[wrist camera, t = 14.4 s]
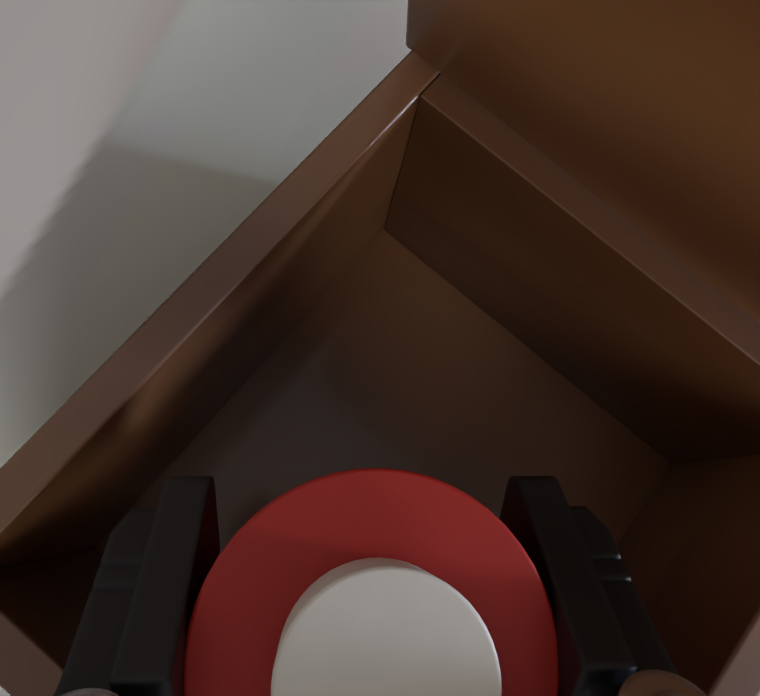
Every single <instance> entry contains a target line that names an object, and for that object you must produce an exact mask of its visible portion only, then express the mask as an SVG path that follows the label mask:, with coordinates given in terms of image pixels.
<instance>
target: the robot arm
mask: <svg viewBox="0 0 760 696" xmlns="http://www.w3.org/2000/svg"><path fill="white" fill-rule="evenodd" d="M499 520H501V521H502V522H503V523H504V524H505V525H506V526H507V528H508V529H509V530H510V531H511V532H512V534H513V535H514V536H515V537H516V539H517V540H518V541H519V542H520V544H521V545H522V546H523V548H524V550H525V551H526V553H527V554H528V556H529V558H530V559H531V561H532V562H533V564H534V566H535V568H536V570H537V572H538V574H539V576H540V579H541V581H542V583H543V585H544V587H545V590H546V593H547V596H548V599H549V602H550V605H551V608H552V611H553V616H554V621H555V626H556V636H557V650H558V667H559V692H558V696H707V695H706V694H705V693H704V692H703V691H702V690H701V689H700V688H698V687H697V686H696V685H695V684H693V683H691V682H690V681H688V680H687V679H685V678H683V677H681V676H679V674H678V673H677V671H676V669H675V668H674V666H673V664H672V662H671V660H670V658H669V656H668V654H667V652H666V649H665V647H664V645H663V643H662V641H661V639H660V637H659V635H658V633H657V630H656V628H655V626H654V624H653V622H652V620H651V618H650V616H649V614H648V611H647V609H646V607H645V605H644V603H643V601H642V599H641V597H640V595H639V592H638V590H637V588H636V586H635V584H634V583H632V582H631V576H630V573H629V571H628V569H627V567H626V565H625V563H624V561H623V560H621V554H620V552H619V550H618V548H617V546H616V544H615V542H614V540H613V538H612V535H611V533H610V531H609V529H608V528H607V527H606V526H605V525H604V524H603V523H602V522H601V521H600V520H599V519H598V518H597V517H596V516H595V515H594V514H593V513H592V512H591V511H590V510H589V509H588V508H587V507H586V506H569V505H568V502H567V500H566V498H565V495H564V493H563V491H562V488H561V486H560V484H559V482H558V480H557V478H556V477H554V476H511V477H510V478H509V480H508V483H507V487H506V491H505V496H504V500H503V505H502V509H501V514H500V518H499ZM219 554H220V538H219V526H218V515H217V503H216V492H215V482H214V478H213V476H168V477H167V478H166V480H165V482H164V486H163V489H162V493H161V496H160V500H159V504H158V507H157V509H132V510H131V511H130V512H129V513H128V514H127V515H126V516H125V517H124V519H123V520H122V521H121V522H120V523H119V524H118V525H117V527H116V528H115V529H114V530H113V531H112V532H111V533H110V536H109V539H108V542H107V545H106V548H105V551H104V553H103V556H102V559H101V566H100V568H98V571H97V574H96V577H95V580H94V583H93V586H92V587H93V588H92V592H90V594H89V597H88V600H87V603H86V606H85V609H84V612H83V615H82V618H81V621H80V624H79V626H78V629H77V632H76V635H75V638H74V641H73V644H72V647H71V650H70V653H69V656H68V659H67V662H66V664H65V667H64V670H63V673H62V676H61V679H60V682H59V684H58V687H57V689H56V691H55V693H54V695H53V696H183V678H184V658H185V645H186V635H187V629H188V626H189V622H190V618H191V615H192V611H193V608H194V604H195V602H196V599H197V597H198V595H199V592H200V590H201V588H202V585H203V583H204V580H205V578H206V577H207V575H208V573H209V571H210V570H211V568H212V566H213V564H214V563H215V561H216V559H217V557H218V556H219Z"/></svg>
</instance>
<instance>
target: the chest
mask: <svg viewBox="0 0 760 696" xmlns="http://www.w3.org/2000/svg"><path fill="white" fill-rule="evenodd" d="M358 468H390V469H399V470H407V471H411V472H415V473H419V474H423V475H427V476H430V477H433V478H435V479H438V480H440V481H443V482H445V483H448V484H450V485H452V486H454V487H456V488H457V489H459V490H461V491H463V492H465V493H466V494H468V495H470V496H471V497H473V498H474V499H475V500H477V501H478V502H480V503H481V504H482V505H484V506H485V507H486V508H488V509H489V510H490V511H491V512H492V513H493V514H494V515H495V516H496V517H497V518H498V519H499V518H500V514H501V509H502V505H503V500H504V496H505V491H506V487H507V483H508V480H509V478H510V477H511V476H554V477H556V478H557V480H558V482H559V484H560V486H561V488H562V491H563V493H564V495H565V498H566V500H567V502H568V505H569V506H586V507H587V508H588V509H589V510H590V511H591V512H592V513H593V514H594V515H595V516H596V517H597V518H598V519H599V520H600V521H601V522H602V523H603V524H604V525H605V526H606V527H607V528H608V529H609V531H610V533H611V535H612V538H613V540H614V542H615V544H616V546H617V548H618V550H619V552H620V554H621V560H623V561H624V563H625V565H626V567H627V569H628V571H629V573H630V576H631V582H632V583H634V584H635V586H636V588H637V590H638V592H639V595H640V597H641V599H642V601H643V603H644V605H645V607H646V609H647V611H648V614H649V616H650V618H651V620H652V622H653V624H654V626H655V628H656V630H657V633H658V635H659V637H660V639H661V641H662V643H663V645H664V647H665V649H666V652H667V654H668V656H669V658H670V660H671V662H672V664H673V666H674V668H675V669H676V671H677V673H678V674H679V676H681V677H683V678H685V679H687V680H688V681H690V682H691V683H693V684H695V685H696V686H697V687H698V688H700V689H701V690H702V691H703V692H704V693H705V694H706V695H707V696H759V695H760V325H759V324H758V323H757V322H756V321H754V320H753V319H752V318H751V317H749V316H748V315H747V314H745V313H744V312H743V311H742V310H740V309H739V308H738V307H737V306H735V305H734V304H733V303H732V302H730V301H729V300H728V299H726V298H725V297H724V296H723V295H721V294H720V293H719V292H718V291H716V290H715V289H714V288H712V287H711V286H710V285H709V284H707V283H706V282H705V281H704V280H702V279H701V278H700V277H699V276H697V275H696V274H695V273H693V272H692V271H691V270H690V269H688V268H687V267H686V266H685V265H683V264H682V263H681V262H680V261H678V260H677V259H676V258H674V257H673V256H672V255H671V254H669V253H668V252H667V251H666V250H664V249H663V248H662V247H661V246H659V245H658V244H657V243H655V242H654V241H653V240H652V239H650V238H649V237H648V236H647V235H645V234H644V233H643V232H642V231H640V230H639V229H638V228H636V227H635V226H634V225H633V224H631V223H630V222H629V221H628V220H626V219H625V218H624V217H622V216H621V215H620V214H619V213H617V212H616V211H615V210H614V209H612V208H611V207H610V206H609V205H607V204H606V203H605V202H603V201H602V200H601V199H600V198H598V197H597V196H596V195H595V194H593V193H592V192H591V191H590V190H588V189H587V188H586V187H584V186H583V185H582V184H581V183H579V182H578V181H577V180H576V179H574V178H573V177H572V176H571V175H569V174H568V173H567V172H565V171H564V170H563V169H562V168H560V167H559V166H558V165H557V164H555V163H554V162H553V161H552V160H550V159H549V158H548V157H546V156H545V155H544V154H543V153H541V152H540V151H539V150H538V149H536V148H535V147H534V146H532V145H531V144H530V143H529V142H527V141H526V140H525V139H524V138H522V137H521V136H520V135H519V134H517V133H516V132H515V131H513V130H512V129H511V128H510V127H508V126H507V125H506V124H505V123H503V122H502V121H501V120H500V119H498V118H497V117H496V116H494V115H493V114H492V113H491V112H489V111H488V110H487V109H486V108H484V107H483V106H482V105H481V104H479V103H478V102H477V101H475V100H474V99H473V98H472V97H470V96H469V95H468V94H467V93H465V92H464V91H463V90H462V89H460V88H459V87H458V86H456V85H455V84H454V83H453V82H451V81H450V80H449V79H448V78H446V77H445V76H444V75H443V74H441V73H440V72H439V71H437V70H436V69H435V68H434V67H432V66H431V65H430V64H429V63H427V62H426V61H425V60H423V59H422V58H421V57H420V56H418V55H417V54H416V53H415V52H413V51H411V52H410V53H409V54H408V55H407V56H406V57H405V58H404V59H403V60H402V61H401V62H400V63H399V64H398V65H397V66H396V67H395V68H394V69H393V70H392V71H391V72H390V73H389V74H388V75H387V76H386V77H385V78H384V79H383V80H382V81H381V82H380V83H379V84H378V85H377V86H376V87H375V88H374V89H373V90H372V91H371V92H370V93H369V94H368V95H367V96H366V97H365V98H364V99H363V100H362V101H361V102H360V103H359V104H358V106H357V107H356V108H355V109H354V110H353V111H352V112H351V113H350V114H349V115H348V116H347V117H346V118H345V119H344V120H343V121H342V122H341V123H340V124H339V125H338V126H337V127H336V128H335V129H334V130H333V131H332V132H331V133H330V134H329V135H328V136H327V137H326V138H325V139H324V140H323V141H322V142H321V143H320V144H319V145H318V146H317V147H316V148H315V149H314V150H313V151H312V152H311V153H310V154H309V155H308V156H307V157H306V158H305V159H304V160H303V161H302V162H301V163H300V164H299V165H298V167H297V168H296V169H295V170H294V171H293V172H292V173H291V174H290V175H289V176H288V177H287V178H286V179H285V180H284V181H283V182H282V183H281V184H280V185H279V186H278V187H277V188H276V189H275V190H274V191H273V192H272V193H271V194H270V195H269V196H268V197H267V198H266V199H265V200H264V201H263V202H262V203H261V204H260V205H259V206H258V207H257V208H256V209H255V210H254V211H253V212H252V213H251V214H250V215H249V216H248V217H247V218H246V219H245V220H244V221H243V222H242V223H241V224H240V225H239V226H238V228H237V229H236V230H235V231H234V232H233V233H232V234H231V235H230V236H229V237H228V238H227V239H226V240H225V241H224V242H223V243H222V244H221V245H220V246H219V247H218V248H217V249H216V250H215V251H214V252H213V253H212V254H211V255H210V256H209V257H208V258H207V259H206V260H205V261H204V262H203V263H202V264H201V265H200V266H199V267H198V268H197V269H196V270H195V271H194V272H193V273H192V274H191V275H190V276H189V277H188V278H187V279H186V280H185V281H184V282H183V283H182V284H181V285H180V286H179V287H178V289H177V290H176V291H175V292H174V293H173V294H172V295H171V296H170V297H169V298H168V299H167V300H166V301H165V302H164V303H163V304H162V305H161V306H160V307H159V308H158V309H157V310H156V311H155V312H154V313H153V314H152V315H151V316H150V317H149V318H148V319H147V320H146V321H145V322H144V323H143V324H142V325H141V326H140V327H139V328H138V329H137V330H136V331H135V332H134V333H133V334H132V335H131V336H130V337H129V338H128V339H127V340H126V341H125V342H124V343H123V344H122V345H121V346H120V347H119V348H118V349H117V351H116V352H115V353H114V354H113V355H112V356H111V357H110V358H109V359H108V360H107V361H106V362H105V363H104V364H103V365H102V366H101V367H100V368H99V369H98V370H97V371H96V372H95V373H94V374H93V375H92V376H91V377H90V378H89V379H88V380H87V381H86V382H85V383H84V384H83V385H82V386H81V387H80V388H79V389H78V390H77V391H76V392H75V393H74V394H73V395H72V396H71V397H70V398H69V399H68V400H67V401H66V402H65V403H64V404H63V405H62V406H61V407H60V408H59V409H58V410H57V412H56V413H55V414H54V415H53V416H52V417H51V418H50V419H49V420H48V421H47V422H46V423H45V424H44V425H43V426H42V427H41V428H40V429H39V430H38V431H37V432H36V433H35V434H34V435H33V436H32V437H31V438H30V439H29V440H28V441H27V442H26V443H25V444H24V445H23V446H22V447H21V448H20V449H19V450H18V451H17V452H16V453H15V454H14V455H13V456H12V457H11V458H10V459H9V460H8V461H7V462H6V463H5V464H4V465H3V466H2V467H1V468H0V686H1V687H2V688H4V689H5V690H6V691H7V692H8V693H9V694H10V695H11V696H53V695H54V693H55V691H56V689H57V687H58V684H59V682H60V679H61V676H62V673H63V670H64V667H65V664H66V662H67V659H68V656H69V653H70V650H71V647H72V644H73V641H74V638H75V635H76V632H77V629H78V626H79V624H80V621H81V618H82V615H83V612H84V609H85V606H86V603H87V600H88V597H89V594H90V592H92V588H93V587H92V586H93V583H94V580H95V577H96V574H97V571H98V568H100V566H101V559H102V556H103V553H104V551H105V548H106V545H107V542H108V539H109V536H110V533H111V532H112V531H113V530H114V529H115V528H116V527H117V525H118V524H119V523H120V522H121V521H122V520H123V519H124V517H125V516H126V515H127V514H128V513H129V512H130V511H131V510H132V509H157V507H158V504H159V500H160V496H161V493H162V489H163V486H164V482H165V480H166V478H167V477H168V476H213V478H214V482H215V492H216V503H217V515H218V526H219V538H220V553H221V552H222V550H223V549H224V548H225V546H226V545H227V544H228V542H229V541H230V540H231V538H232V537H233V536H234V535H235V534H236V533H237V531H238V530H239V529H240V528H241V527H242V526H243V525H244V524H245V523H246V522H247V521H248V520H249V519H250V518H251V517H252V516H253V515H255V514H256V513H257V512H258V511H260V510H261V509H262V508H263V507H265V506H266V505H267V504H268V503H270V502H271V501H272V500H274V499H276V498H277V497H279V496H281V495H282V494H284V493H285V492H287V491H289V490H290V489H292V488H294V487H296V486H299V485H301V484H303V483H305V482H308V481H310V480H312V479H315V478H318V477H321V476H325V475H328V474H331V473H335V472H340V471H346V470H352V469H358Z"/></svg>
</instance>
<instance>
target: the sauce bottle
mask: <svg viewBox="0 0 760 696" xmlns="http://www.w3.org/2000/svg"><path fill="white" fill-rule="evenodd" d="M558 692H559V667H558V650H557V636H556V626H555V621H554V616H553V611H552V608H551V605H550V602H549V599H548V596H547V593H546V590H545V587H544V585H543V583H542V581H541V579H540V576H539V574H538V572H537V570H536V568H535V566H534V564H533V562H532V561H531V559H530V558H529V556H528V554H527V553H526V551H525V550H524V548H523V546H522V545H521V544H520V542H519V541H518V540H517V539H516V537H515V536H514V535H513V534H512V532H511V531H510V530H509V529H508V528H507V526H506V525H505V524H504V523H503V522H502V521H501V520H499V519H498V518H497V517H496V516H495V515H494V514H493V513H492V512H491V511H490V510H489V509H488V508H486V507H485V506H484V505H482V504H481V503H480V502H478V501H477V500H475V499H474V498H473V497H471V496H470V495H468V494H466V493H465V492H463V491H461V490H459V489H457V488H456V487H454V486H452V485H450V484H448V483H445V482H443V481H440V480H438V479H435V478H433V477H430V476H427V475H423V474H419V473H415V472H411V471H407V470H399V469H390V468H358V469H352V470H346V471H340V472H335V473H331V474H328V475H325V476H321V477H318V478H315V479H312V480H310V481H308V482H305V483H303V484H301V485H299V486H296V487H294V488H292V489H290V490H289V491H287V492H285V493H284V494H282V495H281V496H279V497H277V498H276V499H274V500H272V501H271V502H270V503H268V504H267V505H266V506H265V507H263V508H262V509H261V510H260V511H258V512H257V513H256V514H255V515H253V516H252V517H251V518H250V519H249V520H248V521H247V522H246V523H245V524H244V525H243V526H242V527H241V528H240V529H239V530H238V531H237V533H236V534H235V535H234V536H233V537H232V538H231V540H230V541H229V542H228V544H227V545H226V546H225V548H224V549H223V550H222V552H221V553H220V554H219V556H218V557H217V559H216V561H215V563H214V564H213V566H212V568H211V570H210V571H209V573H208V575H207V577H206V578H205V580H204V583H203V585H202V588H201V590H200V592H199V595H198V597H197V599H196V602H195V604H194V608H193V611H192V615H191V618H190V622H189V626H188V629H187V635H186V645H185V658H184V678H183V696H558Z"/></svg>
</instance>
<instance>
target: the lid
mask: <svg viewBox="0 0 760 696" xmlns="http://www.w3.org/2000/svg"><path fill="white" fill-rule="evenodd" d="M406 45H407V47H408V48H410V49H411V50H412V51H413V52H415V53H416V54H417V55H418V56H420V57H421V58H422V59H423V60H425V61H426V62H427V63H429V64H430V65H431V66H432V67H434V68H435V69H436V70H437V71H439V72H440V73H441V74H443V75H444V76H445V77H446V78H448V79H449V80H450V81H451V82H453V83H454V84H455V85H456V86H458V87H459V88H460V89H462V90H463V91H464V92H465V93H467V94H468V95H469V96H470V97H472V98H473V99H474V100H475V101H477V102H478V103H479V104H481V105H482V106H483V107H484V108H486V109H487V110H488V111H489V112H491V113H492V114H493V115H494V116H496V117H497V118H498V119H500V120H501V121H502V122H503V123H505V124H506V125H507V126H508V127H510V128H511V129H512V130H513V131H515V132H516V133H517V134H519V135H520V136H521V137H522V138H524V139H525V140H526V141H527V142H529V143H530V144H531V145H532V146H534V147H535V148H536V149H538V150H539V151H540V152H541V153H543V154H544V155H545V156H546V157H548V158H549V159H550V160H552V161H553V162H554V163H555V164H557V165H558V166H559V167H560V168H562V169H563V170H564V171H565V172H567V173H568V174H569V175H571V176H572V177H573V178H574V179H576V180H577V181H578V182H579V183H581V184H582V185H583V186H584V187H586V188H587V189H588V190H590V191H591V192H592V193H593V194H595V195H596V196H597V197H598V198H600V199H601V200H602V201H603V202H605V203H606V204H607V205H609V206H610V207H611V208H612V209H614V210H615V211H616V212H617V213H619V214H620V215H621V216H622V217H624V218H625V219H626V220H628V221H629V222H630V223H631V224H633V225H634V226H635V227H636V228H638V229H639V230H640V231H642V232H643V233H644V234H645V235H647V236H648V237H649V238H650V239H652V240H653V241H654V242H655V243H657V244H658V245H659V246H661V247H662V248H663V249H664V250H666V251H667V252H668V253H669V254H671V255H672V256H673V257H674V258H676V259H677V260H678V261H680V262H681V263H682V264H683V265H685V266H686V267H687V268H688V269H690V270H691V271H692V272H693V273H695V274H696V275H697V276H699V277H700V278H701V279H702V280H704V281H705V282H706V283H707V284H709V285H710V286H711V287H712V288H714V289H715V290H716V291H718V292H719V293H720V294H721V295H723V296H724V297H725V298H726V299H728V300H729V301H730V302H732V303H733V304H734V305H735V306H737V307H738V308H739V309H740V310H742V311H743V312H744V313H745V314H747V315H748V316H749V317H751V318H752V319H753V320H754V321H756V322H757V323H758V324H759V325H760V0H408V12H407V33H406Z"/></svg>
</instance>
